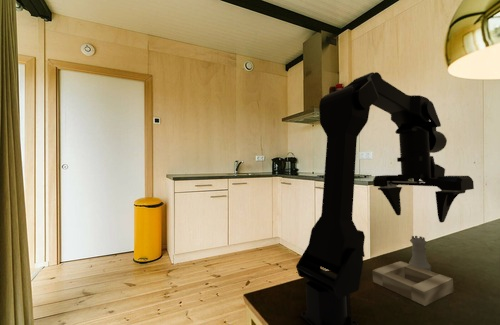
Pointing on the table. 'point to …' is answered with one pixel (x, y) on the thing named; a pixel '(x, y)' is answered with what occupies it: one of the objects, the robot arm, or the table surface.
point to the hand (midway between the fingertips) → (418, 218)
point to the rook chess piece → (419, 253)
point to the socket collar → (421, 292)
